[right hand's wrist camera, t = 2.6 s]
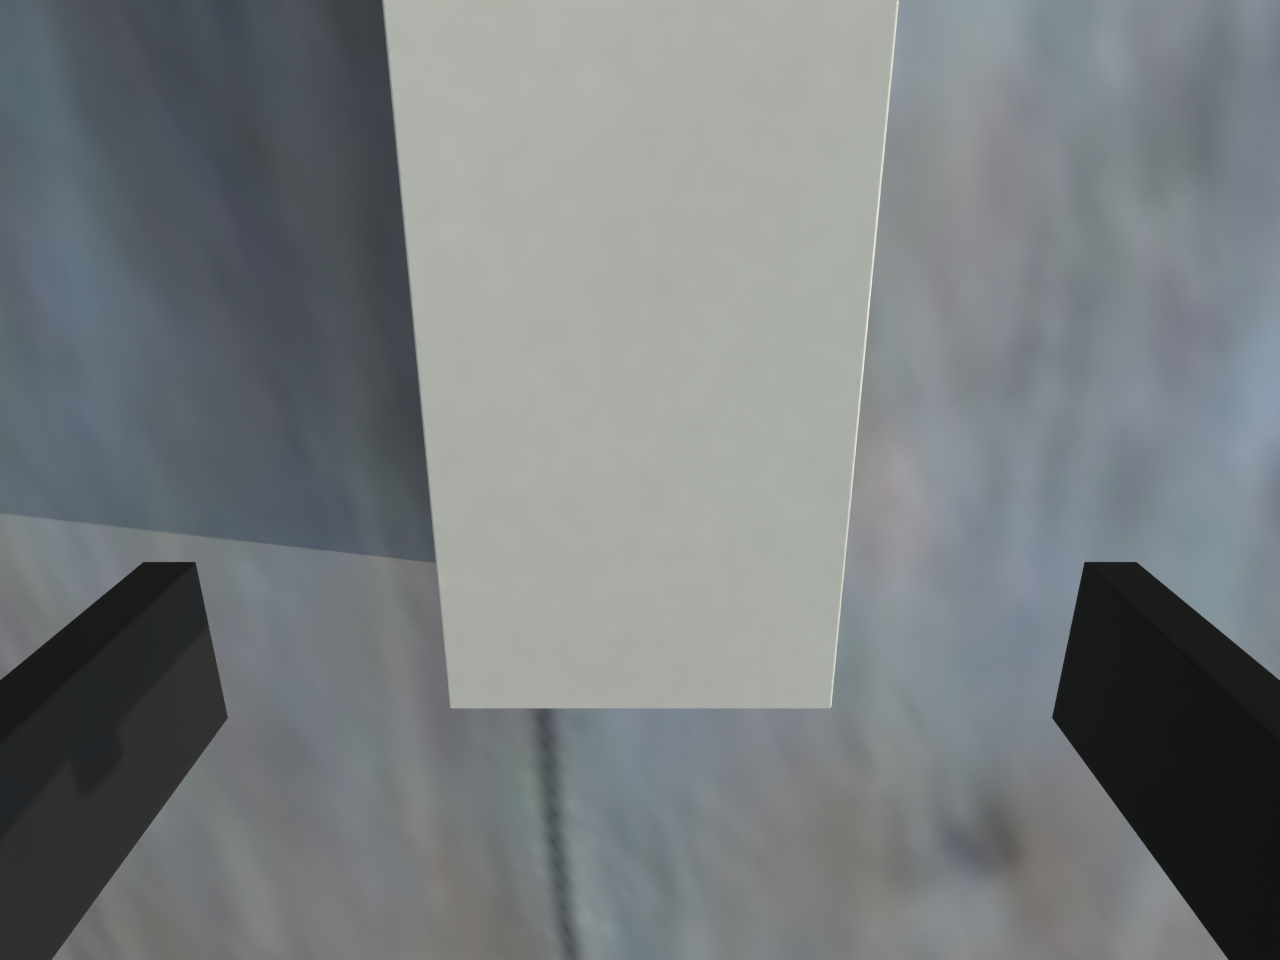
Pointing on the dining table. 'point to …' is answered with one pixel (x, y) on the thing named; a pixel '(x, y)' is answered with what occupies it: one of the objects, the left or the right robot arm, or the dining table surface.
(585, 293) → the wide beam
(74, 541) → the dining table surface
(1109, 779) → the right robot arm
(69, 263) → the dining table surface
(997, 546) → the dining table surface
